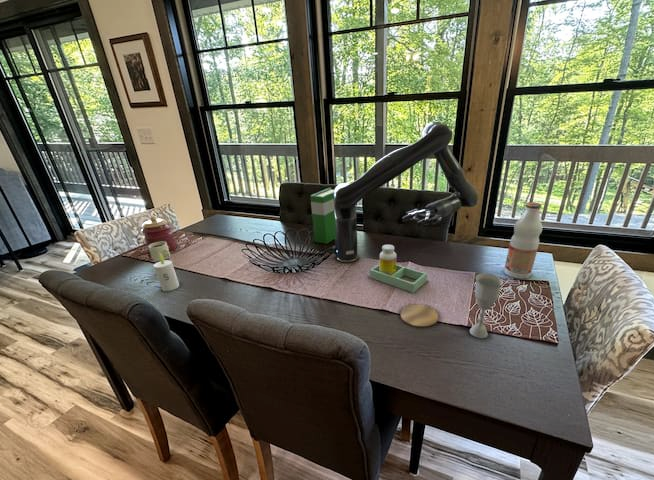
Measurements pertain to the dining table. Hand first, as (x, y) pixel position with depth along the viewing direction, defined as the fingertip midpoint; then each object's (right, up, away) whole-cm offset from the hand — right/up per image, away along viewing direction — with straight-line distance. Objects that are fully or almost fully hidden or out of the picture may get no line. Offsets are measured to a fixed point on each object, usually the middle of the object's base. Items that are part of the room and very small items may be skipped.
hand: (410, 222), depth 123 cm
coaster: (-2, -34, -22) cm, 40 cm away
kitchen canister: (-120, -8, +38) cm, 126 cm away
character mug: (-105, -20, +15) cm, 108 cm away
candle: (-96, -26, +3) cm, 99 cm away
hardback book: (-34, -1, +44) cm, 56 cm away
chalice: (+14, -38, -30) cm, 50 cm away
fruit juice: (+42, -20, 0) cm, 47 cm away
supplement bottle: (-8, -21, +3) cm, 23 cm away
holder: (-5, -23, 0) cm, 23 cm away
